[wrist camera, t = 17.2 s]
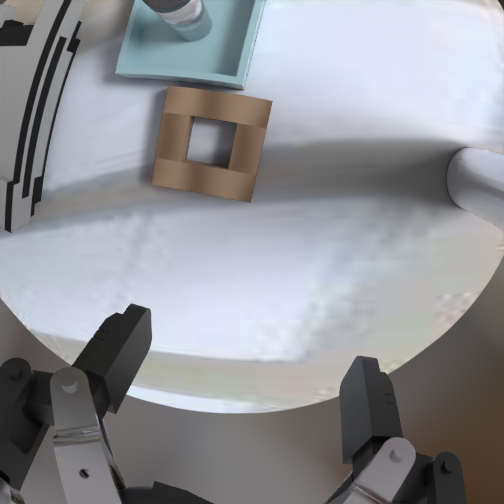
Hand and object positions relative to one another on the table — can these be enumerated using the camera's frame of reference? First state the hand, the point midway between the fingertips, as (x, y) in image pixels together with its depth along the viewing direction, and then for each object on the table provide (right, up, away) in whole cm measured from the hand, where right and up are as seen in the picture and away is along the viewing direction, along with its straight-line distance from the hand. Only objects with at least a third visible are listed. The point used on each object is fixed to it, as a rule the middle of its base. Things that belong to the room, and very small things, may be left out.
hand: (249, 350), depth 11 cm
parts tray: (-7, +31, +18) cm, 37 cm away
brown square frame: (-5, +17, +24) cm, 30 cm away
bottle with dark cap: (-7, +31, +17) cm, 36 cm away
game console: (-36, +27, +21) cm, 50 cm away
